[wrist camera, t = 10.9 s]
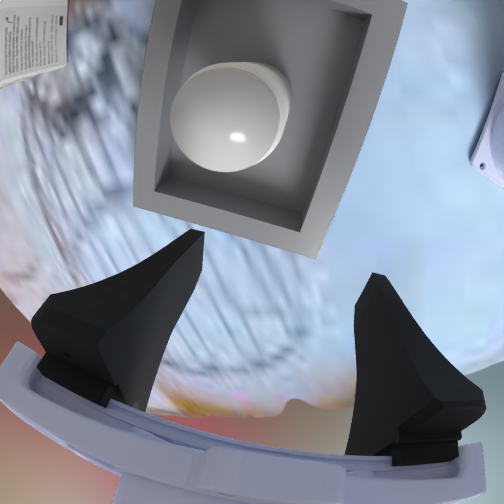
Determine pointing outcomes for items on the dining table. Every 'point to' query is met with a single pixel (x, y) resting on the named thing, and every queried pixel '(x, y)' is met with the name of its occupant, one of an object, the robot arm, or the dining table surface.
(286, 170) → the tray
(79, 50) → the dining table surface
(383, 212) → the dining table surface
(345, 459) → the robot arm
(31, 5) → the container
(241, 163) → the shaker
